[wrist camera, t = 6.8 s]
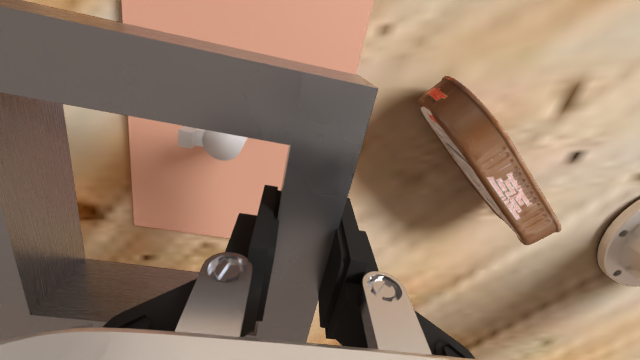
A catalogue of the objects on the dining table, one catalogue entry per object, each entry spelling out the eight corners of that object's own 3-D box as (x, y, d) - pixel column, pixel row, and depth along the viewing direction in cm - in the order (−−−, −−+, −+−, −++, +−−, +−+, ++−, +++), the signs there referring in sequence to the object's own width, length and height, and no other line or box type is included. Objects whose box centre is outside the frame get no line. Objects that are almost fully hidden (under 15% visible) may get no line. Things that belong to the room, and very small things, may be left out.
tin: (512, 192, 29) (586, 248, 21) (483, 211, 30) (545, 271, 22) (430, 67, 23) (491, 81, 16) (397, 94, 24) (440, 120, 17)
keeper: (373, -15, 21) (405, -38, 14) (311, 240, 30) (314, 295, 23) (129, -80, 19) (40, -140, 12) (142, 216, 28) (94, 269, 21)
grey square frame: (358, 75, 11) (378, 88, 8) (298, 313, 16) (297, 371, 13) (-26, -10, 9) (-167, -31, 6) (43, 286, 14) (-19, 346, 11)
